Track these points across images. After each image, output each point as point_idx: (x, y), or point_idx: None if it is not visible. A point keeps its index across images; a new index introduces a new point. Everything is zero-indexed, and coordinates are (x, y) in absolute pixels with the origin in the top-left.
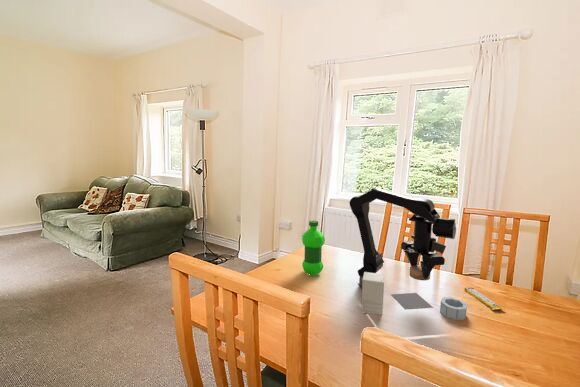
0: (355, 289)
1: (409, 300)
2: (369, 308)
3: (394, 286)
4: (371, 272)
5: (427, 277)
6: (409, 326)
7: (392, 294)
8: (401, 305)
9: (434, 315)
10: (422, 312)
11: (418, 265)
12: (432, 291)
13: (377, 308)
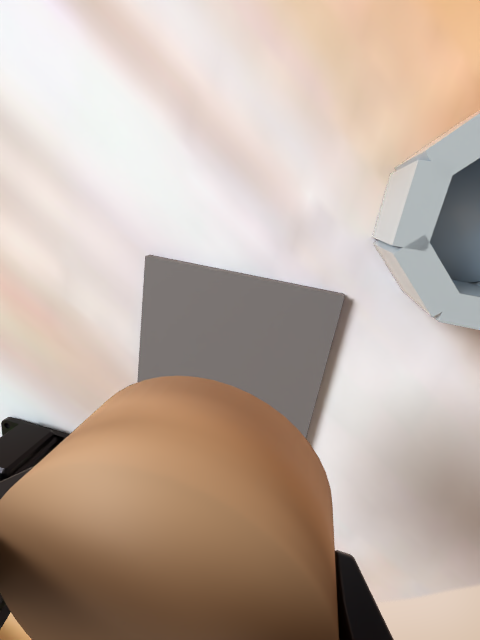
0: None
1: (222, 373)
2: None
3: (41, 315)
4: (1, 622)
5: (362, 586)
6: (426, 539)
7: None
8: None
9: (408, 347)
10: (349, 387)
11: (6, 522)
12: (136, 88)
13: None
